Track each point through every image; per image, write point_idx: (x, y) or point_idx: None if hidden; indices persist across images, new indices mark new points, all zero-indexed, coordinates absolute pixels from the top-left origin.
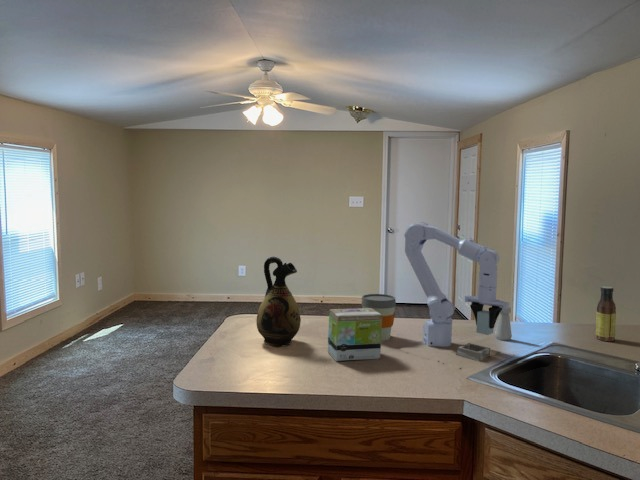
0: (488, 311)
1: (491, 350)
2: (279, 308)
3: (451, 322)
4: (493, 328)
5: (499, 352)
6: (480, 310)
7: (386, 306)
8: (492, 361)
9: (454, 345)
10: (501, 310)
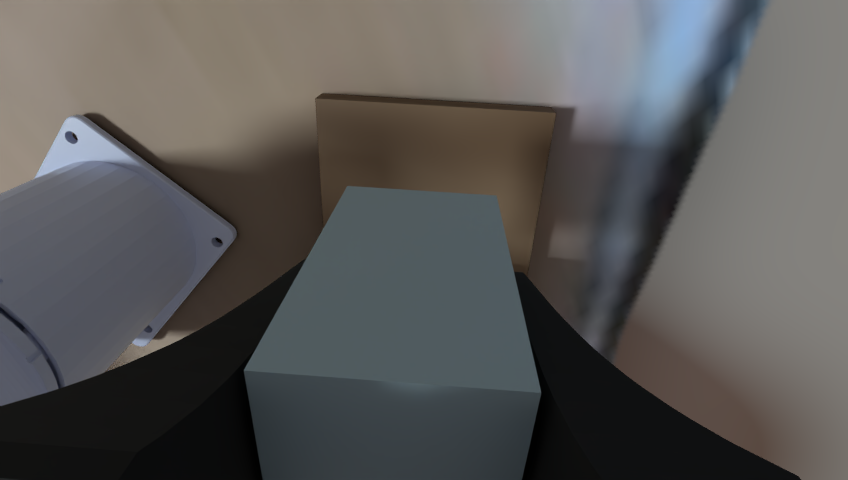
0: (404, 417)
1: (475, 133)
2: None
3: (46, 361)
4: (501, 222)
5: (548, 139)
6: (244, 451)
7: None
8: (541, 286)
9: (166, 140)
10: (761, 467)
